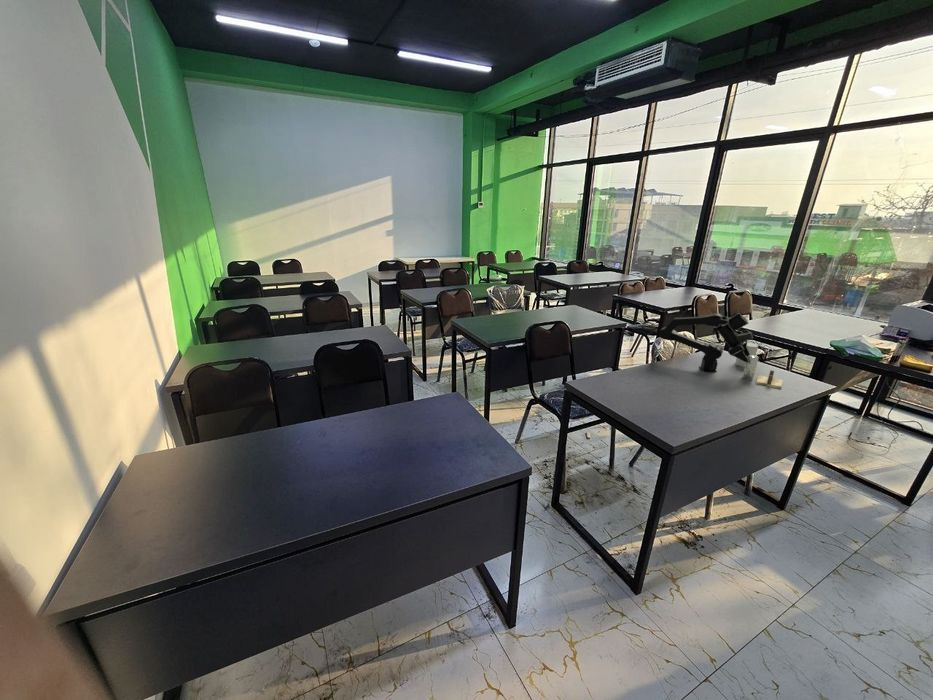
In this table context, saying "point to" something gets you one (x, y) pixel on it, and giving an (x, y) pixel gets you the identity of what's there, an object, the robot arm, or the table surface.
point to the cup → (752, 350)
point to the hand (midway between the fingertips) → (748, 359)
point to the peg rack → (769, 381)
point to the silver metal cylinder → (750, 367)
